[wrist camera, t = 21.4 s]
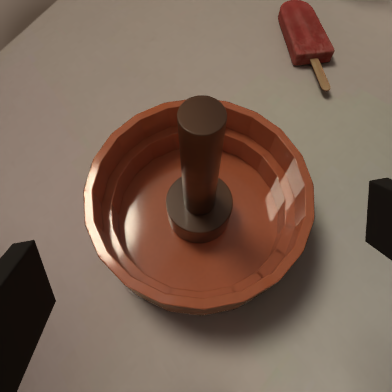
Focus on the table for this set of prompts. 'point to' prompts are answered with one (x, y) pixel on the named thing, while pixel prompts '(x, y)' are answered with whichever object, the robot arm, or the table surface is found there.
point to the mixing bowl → (159, 222)
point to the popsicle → (305, 38)
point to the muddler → (200, 173)
